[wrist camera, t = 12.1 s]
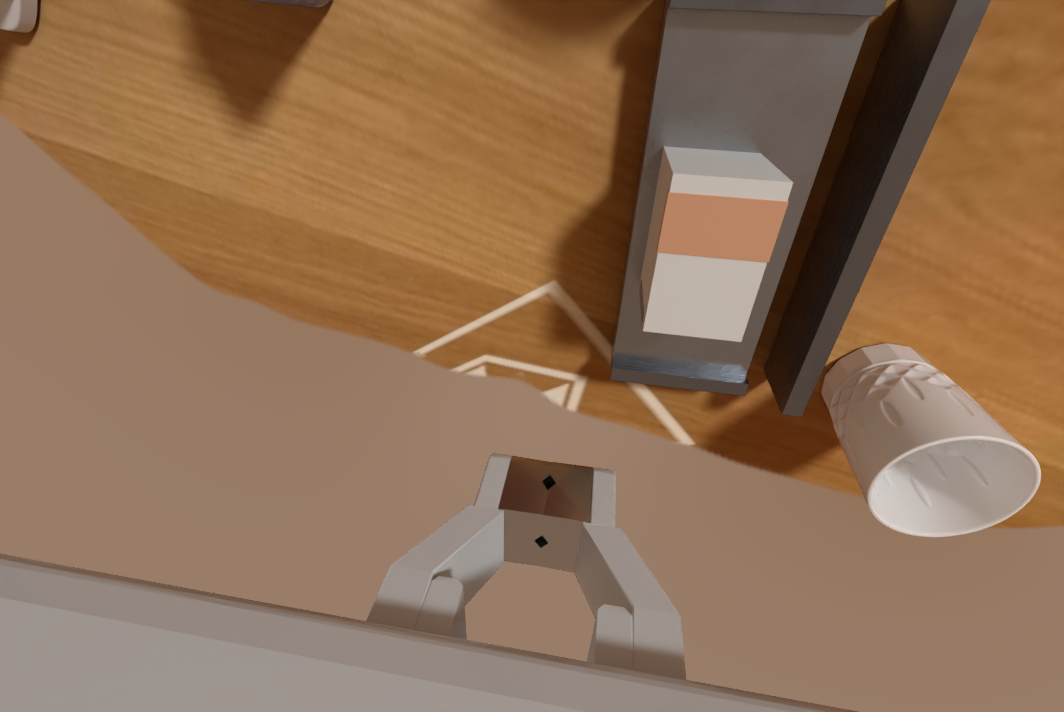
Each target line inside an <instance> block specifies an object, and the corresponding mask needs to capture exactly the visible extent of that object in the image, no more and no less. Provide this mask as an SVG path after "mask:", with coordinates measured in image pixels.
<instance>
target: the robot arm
mask: <svg viewBox="0 0 1064 712" xmlns="http://www.w3.org/2000/svg"><path fill="white" fill-rule="evenodd" d="M37 1H38V0H0V29H2V30H6V31H14V32H22V33H28V32H30V31H32V30H33V28H34V26H35V23H36V16H37ZM615 487H616V473H615V471H614V470H610V469H601V468H595V467H594V468H593V467H587V466H580V465H572V464H564V463H557V462H547V461H541V460H535V459H529V458H523V457H517V456H509V455H503V454H496V453H492V454H491V455H490V457H489V460H488V463H487V466H486V469H485V472H484V476H483V479H482V482H481V485H480V488H479V491H478V494H477V497H476V501H475V504H474V505H467V506H466V507H465V508H463V509H462V510H461V511H459V512H458V513H457V514H455V515H454V516H453V517H452V518H451V519H449V520H448V521H447V522H445V523H444V524H443V525H442V526H440V527H439V528H438V529H436V530H435V531H434V532H433V533H432V534H430V535H429V536H428V537H426V538H425V539H424V540H423V541H421V542H420V543H419V544H417V545H416V546H415V547H414V548H412V549H411V550H410V551H409V552H407V553H406V554H405V555H404V556H402V557H401V558H400V559H398V560H397V561H396V562H395V563H393V564H392V565H391V566H390V568H389V571H388V573H387V575H386V577H385V580H384V582H383V585H382V586H381V589H380V591H379V593H378V596H377V598H376V600H375V602H374V605H373V607H372V609H371V611H370V614H369V616H368V618H367V620H366V621H361V620H356V619H351V618H346V617H340V616H335V615H329V614H324V613H318V612H313V611H308V610H302V609H297V608H291V607H286V606H280V605H274V604H270V603H264V602H259V601H253V600H248V599H242V598H237V597H232V596H226V595H221V594H215V593H210V592H204V591H199V590H194V589H188V588H183V587H177V586H172V585H167V584H161V583H156V582H151V581H145V580H140V579H134V578H128V577H123V576H118V575H113V574H107V573H102V572H96V571H91V570H85V569H80V568H75V567H69V566H63V565H58V564H53V563H47V562H42V561H36V560H31V559H26V558H21V557H16V556H10V555H6V554H0V712H857V711H851V710H846V709H841V708H836V707H830V706H825V705H819V704H814V703H808V702H803V701H797V700H792V699H787V698H781V697H776V696H770V695H765V694H759V693H754V692H748V691H743V690H738V689H732V688H727V687H721V686H716V685H711V684H705V683H699V682H694V681H689V680H686V671H685V662H684V651H683V640H682V630H681V620H680V615H679V613H678V612H677V610H676V609H675V608H674V606H673V604H672V603H671V601H670V600H669V598H668V597H667V595H666V594H665V593H664V591H663V590H662V588H661V587H660V585H659V584H658V582H657V581H656V579H655V578H654V576H653V575H652V573H651V572H650V570H649V569H648V567H647V566H646V564H645V563H644V561H643V560H642V558H641V557H640V555H639V554H638V552H637V551H636V549H635V548H634V546H633V545H632V544H631V542H630V541H629V539H628V538H627V536H626V535H625V533H624V532H623V530H622V529H621V528H617V527H615ZM504 561H508V562H514V563H521V564H529V565H537V566H542V567H548V568H553V569H558V570H563V571H568V572H574V573H575V575H576V578H577V579H578V582H579V584H580V586H581V588H582V591H583V593H584V595H585V597H586V599H587V602H588V604H589V606H590V608H591V611H592V612H593V615H594V617H595V619H596V620H595V625H594V629H593V635H592V639H591V644H590V648H589V653H588V658H587V662H585V661H580V660H575V659H569V658H564V657H558V656H553V655H547V654H542V653H536V652H531V651H525V650H520V649H514V648H509V647H504V646H498V645H493V644H487V643H482V642H476V641H470V640H467V637H466V622H465V606H466V604H467V603H468V602H469V601H470V600H471V599H472V598H473V597H474V596H475V594H476V593H477V592H478V591H479V590H480V589H481V588H482V587H483V586H484V584H485V583H486V582H487V581H488V580H489V579H490V578H491V577H492V576H493V575H494V573H495V572H496V571H497V570H498V569H499V568H500V567H501V566H502V565H503V563H504Z"/></svg>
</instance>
